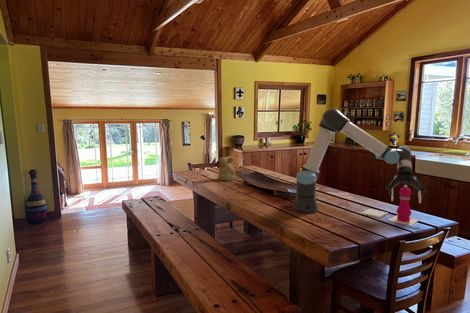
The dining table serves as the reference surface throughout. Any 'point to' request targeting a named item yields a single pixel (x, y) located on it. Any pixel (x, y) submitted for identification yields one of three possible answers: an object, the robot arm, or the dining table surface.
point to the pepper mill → (404, 205)
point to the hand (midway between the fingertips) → (406, 200)
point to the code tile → (411, 222)
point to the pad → (374, 213)
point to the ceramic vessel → (226, 168)
